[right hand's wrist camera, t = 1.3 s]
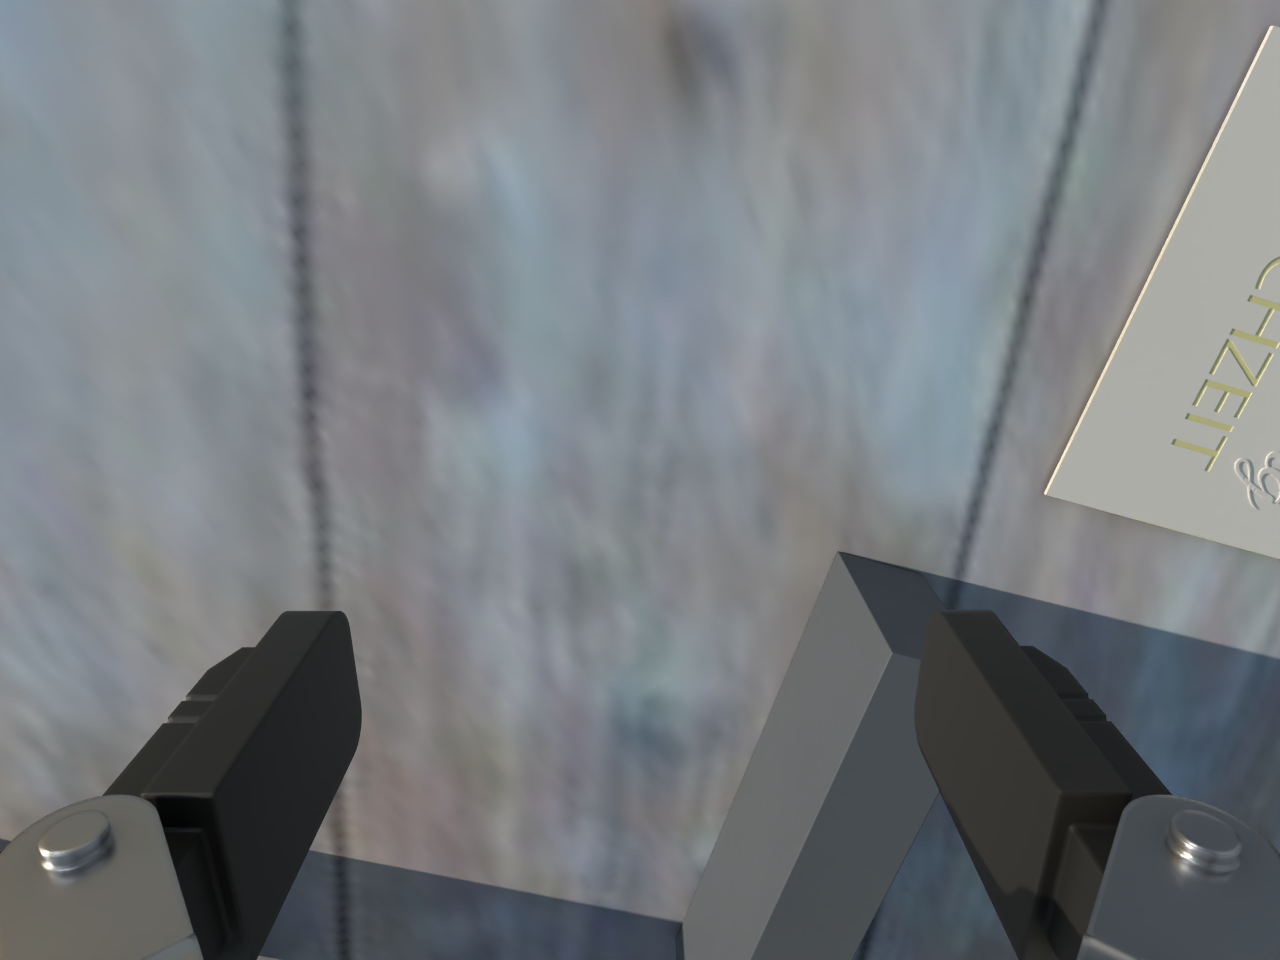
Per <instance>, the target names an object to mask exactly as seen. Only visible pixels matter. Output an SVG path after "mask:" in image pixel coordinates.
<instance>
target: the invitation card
mask: <svg viewBox="0 0 1280 960" xmlns="http://www.w3.org/2000/svg"><path fill="white" fill-rule="evenodd" d="M1044 494H1045V495H1048V496H1052V497H1055V498H1059V499H1063V500H1066V501H1070V502H1074V503H1077V504H1081V505H1084V506H1088V507H1092V508H1095V509H1099V510H1103V511H1106V512H1110V513H1114V514H1117V515H1121V516H1124V517H1128V518H1132V519H1135V520H1139V521H1143V522H1146V523H1150V524H1153V525H1157V526H1161V527H1164V528H1168V529H1172V530H1175V531H1179V532H1183V533H1186V534H1190V535H1193V536H1197V537H1201V538H1204V539H1208V540H1212V541H1215V542H1219V543H1222V544H1226V545H1230V546H1233V547H1237V548H1241V549H1244V550H1248V551H1252V552H1255V553H1259V554H1262V555H1266V556H1270V557H1273V558H1277V559H1280V28H1279V27H1276V26H1270V28H1269V30H1268V32H1267V34H1266V36H1265V38H1264V40H1263V42H1262V44H1261V46H1260V48H1259V50H1258V53H1257V55H1256V57H1255V59H1254V61H1253V63H1252V65H1251V67H1250V69H1249V71H1248V73H1247V75H1246V77H1245V79H1244V81H1243V83H1242V86H1241V88H1240V90H1239V92H1238V94H1237V96H1236V98H1235V100H1234V102H1233V104H1232V106H1231V108H1230V110H1229V112H1228V114H1227V117H1226V119H1225V121H1224V123H1223V125H1222V127H1221V129H1220V131H1219V133H1218V135H1217V137H1216V139H1215V141H1214V143H1213V145H1212V147H1211V150H1210V152H1209V154H1208V156H1207V158H1206V160H1205V162H1204V164H1203V166H1202V168H1201V170H1200V172H1199V174H1198V176H1197V178H1196V181H1195V183H1194V185H1193V187H1192V189H1191V191H1190V193H1189V195H1188V197H1187V199H1186V201H1185V203H1184V205H1183V207H1182V209H1181V211H1180V214H1179V216H1178V218H1177V220H1176V222H1175V224H1174V226H1173V228H1172V230H1171V232H1170V234H1169V236H1168V238H1167V240H1166V242H1165V245H1164V247H1163V249H1162V251H1161V253H1160V255H1159V257H1158V259H1157V261H1156V263H1155V265H1154V267H1153V269H1152V271H1151V273H1150V275H1149V278H1148V280H1147V282H1146V284H1145V286H1144V288H1143V290H1142V292H1141V294H1140V296H1139V298H1138V300H1137V302H1136V304H1135V306H1134V309H1133V311H1132V313H1131V315H1130V317H1129V319H1128V321H1127V323H1126V325H1125V327H1124V329H1123V331H1122V333H1121V335H1120V337H1119V339H1118V342H1117V344H1116V346H1115V348H1114V350H1113V352H1112V354H1111V356H1110V358H1109V360H1108V362H1107V364H1106V366H1105V368H1104V370H1103V373H1102V375H1101V377H1100V379H1099V381H1098V383H1097V385H1096V387H1095V389H1094V391H1093V393H1092V395H1091V397H1090V399H1089V401H1088V403H1087V406H1086V408H1085V410H1084V412H1083V414H1082V416H1081V418H1080V420H1079V422H1078V424H1077V426H1076V428H1075V430H1074V432H1073V434H1072V437H1071V439H1070V441H1069V443H1068V445H1067V447H1066V449H1065V451H1064V453H1063V455H1062V457H1061V459H1060V461H1059V463H1058V465H1057V467H1056V470H1055V472H1054V474H1053V476H1052V478H1051V480H1050V482H1049V484H1048V486H1047V488H1046V490H1045V492H1044Z"/></svg>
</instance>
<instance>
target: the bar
mask: <svg viewBox="0 0 1280 960" xmlns="http://www.w3.org/2000/svg"><path fill="white" fill-rule="evenodd" d="M933 610H947V609H946V607H945V606H944V605H943V603H942V602H941V600H940V599H939V598H938V596H937V595H936V593H935V592H934V591H933V589H932V588H931V587H930V585H929V584H928V582H927V581H926V580H925V578H924V577H923V575H922V574H919V573H915V572H912V571H908V570H904V569H900V568H897V567H893V566H889V565H886V564H882V563H878V562H875V561H871V560H867V559H864V558H860V557H856V556H853V555H849V554H845V553H842V552H837V554H836V556H835V559H834V561H833V563H832V566H831V568H830V571H829V573H828V575H827V578H826V580H825V583H824V585H823V587H822V590H821V592H820V595H819V597H818V599H817V602H816V604H815V607H814V609H813V611H812V614H811V616H810V619H809V621H808V623H807V626H806V628H805V631H804V633H803V635H802V638H801V640H800V643H799V645H798V647H797V650H796V652H795V655H794V657H793V659H792V662H791V664H790V667H789V669H788V671H787V674H786V676H785V679H784V681H783V684H782V686H781V688H780V691H779V693H778V696H777V698H776V700H775V703H774V705H773V708H772V710H771V712H770V715H769V717H768V720H767V722H766V724H765V727H764V729H763V732H762V734H761V736H760V739H759V741H758V744H757V746H756V748H755V751H754V753H753V756H752V758H751V760H750V763H749V765H748V768H747V770H746V772H745V775H744V777H743V780H742V782H741V784H740V787H739V789H738V792H737V794H736V796H735V799H734V801H733V804H732V806H731V808H730V811H729V813H728V816H727V818H726V820H725V823H724V825H723V828H722V830H721V832H720V835H719V837H718V840H717V842H716V844H715V847H714V849H713V852H712V854H711V856H710V859H709V861H708V864H707V866H706V868H705V871H704V873H703V876H702V878H701V880H700V883H699V885H698V888H697V890H696V892H695V895H694V897H693V900H692V902H691V904H690V907H689V909H688V912H687V914H686V916H685V919H684V921H683V924H682V926H681V929H680V931H679V933H678V936H677V938H676V955H677V960H852V959H853V957H854V955H855V953H856V951H857V949H858V947H859V945H860V944H861V942H862V940H863V938H864V936H865V934H866V932H867V930H868V928H869V926H870V924H871V922H872V920H873V919H874V917H875V915H876V913H877V911H878V909H879V907H880V905H881V903H882V901H883V899H884V897H885V895H886V894H887V892H888V890H889V888H890V886H891V884H892V882H893V880H894V878H895V876H896V874H897V872H898V871H899V869H900V867H901V865H902V863H903V861H904V859H905V857H906V855H907V853H908V851H909V849H910V847H911V846H912V844H913V842H914V840H915V838H916V836H917V834H918V832H919V830H920V828H921V826H922V824H923V822H924V821H925V819H926V817H927V815H928V813H929V811H930V809H931V807H932V805H933V803H934V801H935V799H936V798H937V796H938V794H939V792H940V791H939V789H938V787H937V785H936V783H935V781H934V778H933V776H932V774H931V772H930V770H929V768H928V766H927V764H926V762H925V759H924V757H923V755H922V753H921V751H920V748H919V745H918V741H917V736H916V731H915V721H914V706H915V698H916V691H917V684H918V677H919V670H920V663H921V656H922V649H923V643H924V636H925V629H926V623H927V620H928V617H929V615H930V613H931V612H932V611H933Z"/></svg>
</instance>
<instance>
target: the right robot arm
mask: <svg viewBox="0 0 1280 960" xmlns="http://www.w3.org/2000/svg"><path fill="white" fill-rule="evenodd" d="M361 721H362V711H361V701H360V694H359V687H358V680H357V674H356V667H355V660H354V653H353V646H352V639H351V633H350V627H349V622H348V619H347V617H346V615H345V614H344V613H343V612H342V611H286V612H284V613H282V614H281V615H280V616H279V618H278V619H277V620H276V621H275V623H274V624H273V625H272V627H271V628H270V629H269V630H268V632H267V633H266V634H265V636H264V637H263V638H262V639H261V641H260V642H259V643H258V645H257V646H256V647H242V648H241V649H239V650H238V651H236V652H235V653H233V654H232V655H230V656H229V657H227V658H226V659H224V660H223V661H221V662H219V663H218V664H216V665H215V666H213V667H212V668H210V669H209V670H208V671H207V672H206V673H205V674H204V675H203V677H202V678H201V679H200V680H199V681H198V683H197V684H196V685H195V686H194V687H193V689H192V690H191V691H190V692H189V693H188V694H187V696H186V701H182V702H181V703H180V704H179V705H178V706H177V708H176V709H175V710H174V711H173V712H172V714H171V715H170V716H169V717H168V722H167V723H163V724H162V725H161V727H160V728H159V729H158V730H157V731H156V733H155V734H154V735H153V736H152V737H151V739H150V740H149V741H148V742H147V743H146V744H145V746H144V747H143V748H142V749H141V750H140V752H139V753H138V754H137V755H136V756H135V758H134V759H133V760H132V761H131V762H130V764H129V765H128V766H127V767H126V768H125V769H124V771H123V772H122V773H121V774H120V775H119V777H118V778H117V779H116V780H115V781H114V783H113V784H112V785H111V786H110V787H109V789H108V790H107V791H106V792H105V793H104V794H103V796H100V797H95V798H91V799H86V800H83V801H80V802H77V803H74V804H71V805H69V806H66V807H64V808H61V809H59V810H57V811H55V812H53V813H51V814H49V815H47V816H45V817H43V818H42V819H40V820H38V821H37V822H35V823H34V824H32V825H31V826H29V827H28V828H27V829H25V830H24V831H23V832H21V833H20V834H19V835H18V836H17V837H15V838H14V839H13V840H12V841H11V842H10V843H9V844H8V845H7V846H6V848H5V849H4V850H3V851H2V852H1V854H0V960H257V957H258V955H259V953H260V951H261V949H262V947H263V945H264V943H265V941H266V939H267V937H268V934H269V932H270V930H271V928H272V926H273V924H274V922H275V920H276V918H277V916H278V913H279V911H280V909H281V907H282V905H283V903H284V901H285V899H286V897H287V895H288V893H289V890H290V888H291V886H292V884H293V882H294V880H295V878H296V876H297V874H298V872H299V869H300V867H301V865H302V863H303V861H304V859H305V857H306V855H307V853H308V851H309V848H310V846H311V844H312V842H313V840H314V838H315V836H316V834H317V832H318V830H319V828H320V825H321V823H322V821H323V819H324V817H325V815H326V813H327V811H328V809H329V807H330V804H331V802H332V800H333V798H334V796H335V794H336V792H337V790H338V788H339V786H340V784H341V781H342V779H343V777H344V775H345V773H346V771H347V769H348V767H349V765H350V763H351V760H352V758H353V756H354V754H355V752H356V749H357V746H358V742H359V737H360V731H361ZM914 721H915V731H916V736H917V741H918V745H919V748H920V751H921V753H922V755H923V757H924V759H925V762H926V764H927V766H928V768H929V770H930V772H931V774H932V776H933V778H934V781H935V783H936V785H937V787H938V789H939V791H940V793H941V795H942V798H943V800H944V802H945V804H946V806H947V808H948V810H949V812H950V815H951V817H952V819H953V821H954V823H955V825H956V827H957V829H958V832H959V834H960V836H961V838H962V840H963V842H964V844H965V846H966V849H967V851H968V853H969V855H970V857H971V859H972V861H973V863H974V865H975V868H976V870H977V872H978V874H979V876H980V878H981V880H982V882H983V885H984V887H985V889H986V891H987V893H988V895H989V897H990V899H991V902H992V904H993V906H994V908H995V910H996V912H997V914H998V916H999V919H1000V921H1001V923H1002V925H1003V927H1004V929H1005V931H1006V933H1007V936H1008V938H1009V940H1010V942H1011V944H1012V946H1013V948H1014V950H1015V952H1016V955H1017V957H1018V959H1019V960H1280V854H1279V852H1278V851H1277V850H1276V849H1275V848H1274V846H1273V845H1272V844H1271V843H1270V842H1269V841H1268V840H1267V839H1266V838H1265V837H1263V836H1262V835H1261V834H1260V833H1259V832H1257V831H1256V830H1255V829H1253V828H1252V827H1251V826H1249V825H1248V824H1246V823H1245V822H1243V821H1242V820H1240V819H1238V818H1237V817H1235V816H1233V815H1231V814H1229V813H1227V812H1225V811H1223V810H1221V809H1219V808H1216V807H1214V806H1211V805H1209V804H1206V803H1203V802H1200V801H1197V800H1194V799H1189V798H1185V797H1180V796H1173V795H1172V794H1171V793H1170V792H1169V791H1168V789H1167V788H1166V787H1165V786H1164V785H1163V783H1162V782H1161V781H1160V780H1159V779H1158V777H1157V776H1156V775H1155V774H1154V773H1153V771H1152V770H1151V769H1150V768H1149V767H1148V765H1147V764H1146V763H1145V762H1144V761H1143V759H1142V758H1141V757H1140V756H1139V755H1138V753H1137V752H1136V751H1135V750H1134V749H1133V747H1132V746H1131V745H1130V744H1129V743H1128V741H1127V740H1126V739H1125V738H1124V737H1123V735H1122V734H1121V733H1120V732H1119V731H1118V729H1117V728H1116V727H1115V726H1114V725H1113V723H1112V722H1111V721H1107V720H1106V715H1105V714H1104V713H1103V711H1102V710H1101V709H1100V708H1099V707H1098V705H1097V704H1096V703H1095V702H1094V701H1093V699H1089V698H1088V693H1087V692H1086V691H1085V690H1084V689H1083V687H1082V686H1081V685H1080V684H1079V683H1078V681H1077V680H1076V679H1075V678H1074V677H1073V675H1072V674H1071V673H1070V672H1069V671H1068V669H1067V668H1066V667H1064V666H1062V665H1061V664H1059V663H1058V662H1056V661H1055V660H1053V659H1052V658H1050V657H1049V656H1047V655H1046V654H1044V653H1043V652H1041V651H1040V650H1038V649H1036V648H1035V647H1033V646H1019V644H1018V643H1017V642H1016V641H1015V639H1014V638H1013V637H1012V635H1011V634H1010V633H1009V632H1008V630H1007V629H1006V628H1005V626H1004V625H1003V624H1002V623H1001V621H1000V620H999V619H998V617H997V616H996V615H995V614H994V613H993V612H992V611H990V610H933V611H932V612H931V613H930V615H929V617H928V620H927V623H926V629H925V636H924V643H923V649H922V656H921V663H920V670H919V677H918V684H917V691H916V698H915V706H914Z"/></svg>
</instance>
